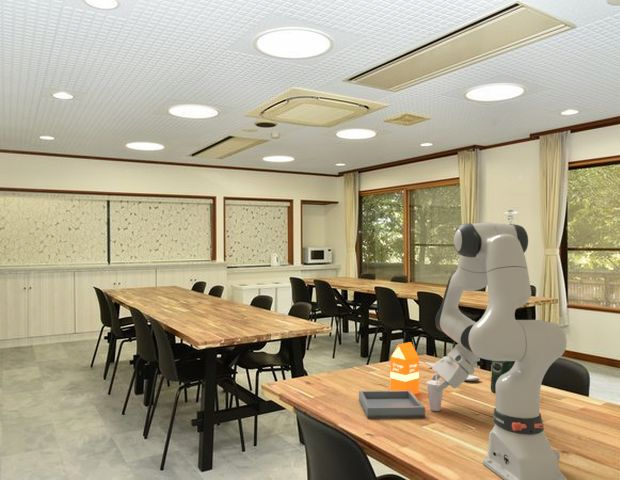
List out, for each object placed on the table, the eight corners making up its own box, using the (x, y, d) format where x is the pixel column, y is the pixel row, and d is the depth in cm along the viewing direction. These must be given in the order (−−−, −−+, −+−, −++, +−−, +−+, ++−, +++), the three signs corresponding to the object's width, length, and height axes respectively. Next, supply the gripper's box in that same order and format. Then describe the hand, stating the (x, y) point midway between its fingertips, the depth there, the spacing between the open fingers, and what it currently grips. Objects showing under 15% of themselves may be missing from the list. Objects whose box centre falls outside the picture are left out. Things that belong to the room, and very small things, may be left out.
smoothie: (444, 412, 173) (444, 373, 173) (426, 411, 174) (426, 372, 175) (443, 407, 179) (443, 368, 180) (425, 405, 181) (425, 367, 181)
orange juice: (390, 392, 198) (390, 343, 198) (403, 388, 204) (403, 340, 204) (405, 397, 192) (405, 346, 192) (419, 392, 198) (419, 343, 198)
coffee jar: (520, 394, 195) (520, 348, 195) (506, 397, 192) (506, 350, 192) (501, 388, 204) (500, 344, 204) (487, 391, 200) (486, 345, 200)
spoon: (439, 366, 243) (439, 359, 243) (484, 382, 213) (483, 374, 213) (424, 367, 240) (424, 360, 240) (467, 384, 210) (467, 376, 210)
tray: (424, 417, 169) (424, 407, 169) (367, 418, 168) (367, 408, 168) (410, 399, 189) (410, 390, 189) (358, 400, 188) (358, 391, 188)
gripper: (444, 348, 188) (419, 374, 187) (463, 360, 168) (435, 389, 167) (455, 359, 188) (431, 385, 188) (476, 373, 168) (448, 402, 167)
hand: (433, 387), depth 177 cm, fingers closed on smoothie, 6 cm apart
